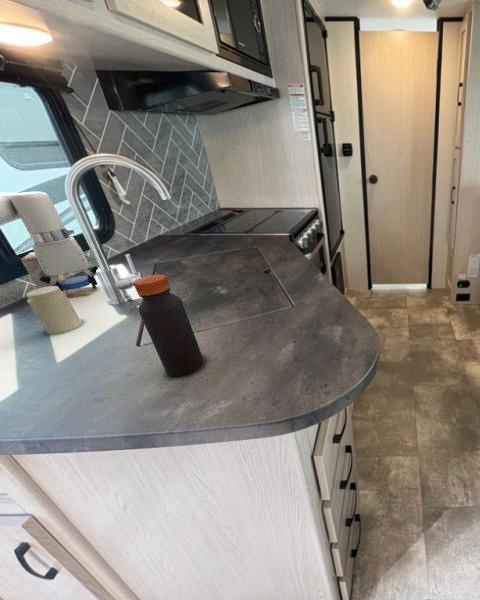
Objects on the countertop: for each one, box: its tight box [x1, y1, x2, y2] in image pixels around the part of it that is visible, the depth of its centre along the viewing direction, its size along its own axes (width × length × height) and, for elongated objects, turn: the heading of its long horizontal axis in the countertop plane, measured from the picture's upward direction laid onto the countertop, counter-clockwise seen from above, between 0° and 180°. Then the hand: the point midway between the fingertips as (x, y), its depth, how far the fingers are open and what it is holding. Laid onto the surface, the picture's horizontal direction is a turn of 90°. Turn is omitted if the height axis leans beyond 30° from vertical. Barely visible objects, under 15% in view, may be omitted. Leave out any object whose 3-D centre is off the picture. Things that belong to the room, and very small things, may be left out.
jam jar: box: [25, 286, 82, 335], centre depth 79 cm, size 7×7×11 cm
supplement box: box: [20, 251, 67, 293], centre depth 98 cm, size 8×5×13 cm, turn 34°
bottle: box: [132, 273, 205, 378], centre depth 61 cm, size 7×7×20 cm
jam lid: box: [59, 275, 91, 291], centre depth 99 cm, size 7×7×2 cm
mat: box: [65, 286, 98, 298], centre depth 101 cm, size 6×6×1 cm
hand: (79, 290), depth 100 cm, fingers closed on jam lid, 6 cm apart
